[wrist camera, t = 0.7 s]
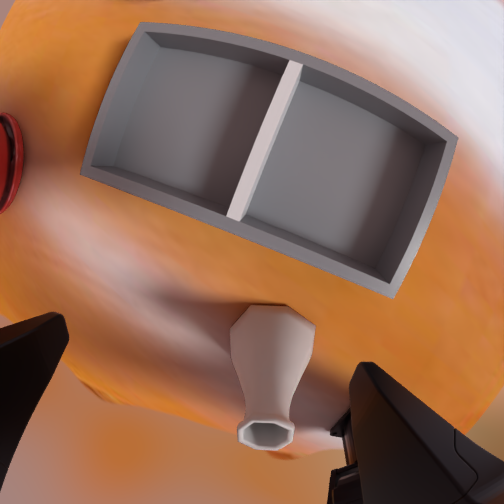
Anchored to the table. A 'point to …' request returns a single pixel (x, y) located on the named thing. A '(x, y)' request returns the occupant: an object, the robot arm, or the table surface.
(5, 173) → the plant pot
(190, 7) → the table surface
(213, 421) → the table surface
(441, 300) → the table surface
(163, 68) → the caddy
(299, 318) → the flask
